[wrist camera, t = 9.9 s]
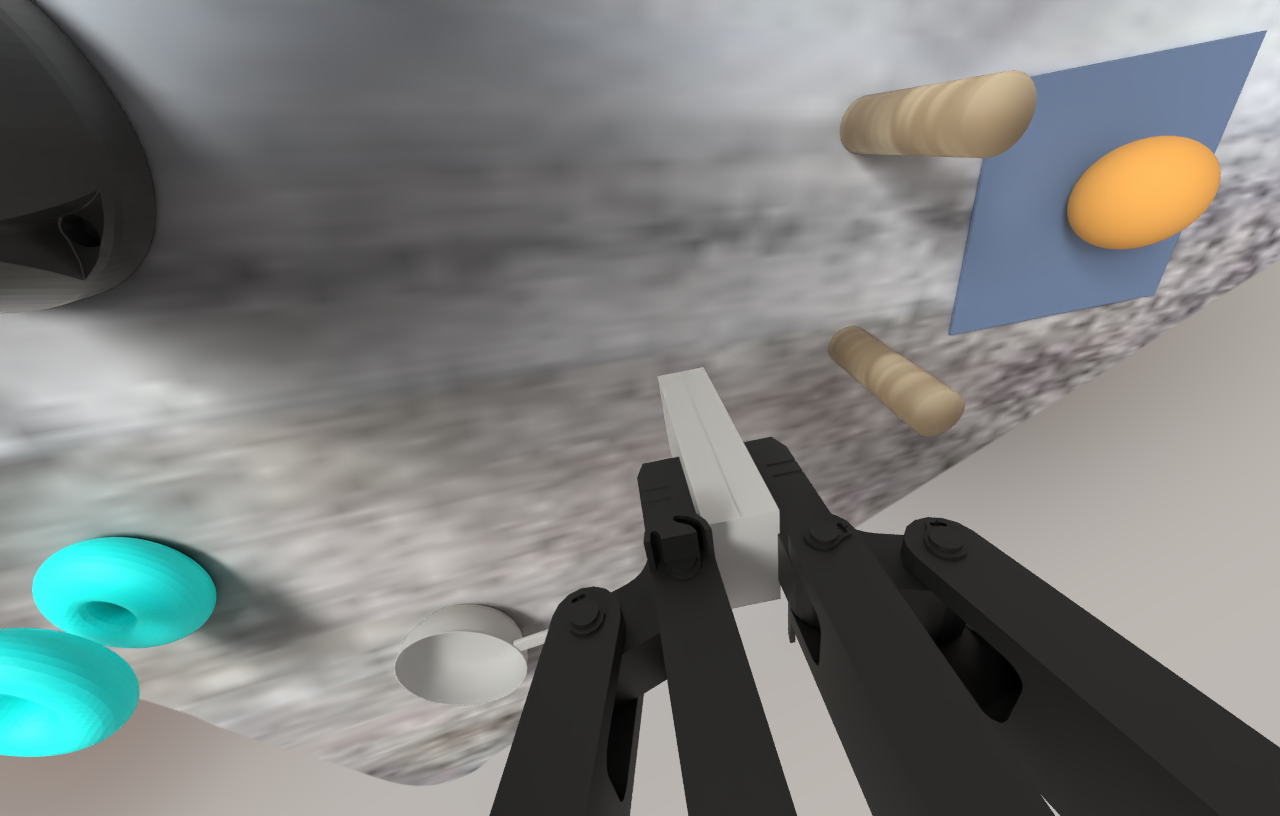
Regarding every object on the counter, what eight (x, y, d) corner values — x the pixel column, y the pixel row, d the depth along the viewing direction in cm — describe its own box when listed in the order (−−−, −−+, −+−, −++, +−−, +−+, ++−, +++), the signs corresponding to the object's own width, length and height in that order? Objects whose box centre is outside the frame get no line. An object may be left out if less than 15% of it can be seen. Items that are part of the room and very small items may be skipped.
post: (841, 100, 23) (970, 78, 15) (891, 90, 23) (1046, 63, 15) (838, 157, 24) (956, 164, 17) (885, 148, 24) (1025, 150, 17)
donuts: (134, 705, 26) (84, 779, 29) (247, 565, 34) (199, 633, 38) (-112, 648, 22) (-140, 741, 25) (85, 505, 30) (46, 587, 33)
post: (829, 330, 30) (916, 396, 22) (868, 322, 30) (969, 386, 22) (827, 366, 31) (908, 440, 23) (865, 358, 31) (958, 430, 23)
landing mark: (998, 83, 23) (1001, 82, 23) (1262, 31, 23) (1266, 30, 23) (948, 334, 31) (950, 335, 30) (1151, 293, 31) (1154, 294, 30)
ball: (1180, 122, 25) (1060, 144, 26) (1284, 126, 20) (1132, 153, 21) (1141, 227, 27) (1035, 243, 29) (1224, 252, 23) (1094, 269, 24)
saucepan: (380, 622, 39) (362, 666, 36) (562, 545, 37) (560, 584, 34) (457, 680, 45) (447, 722, 41) (621, 615, 42) (624, 655, 39)
